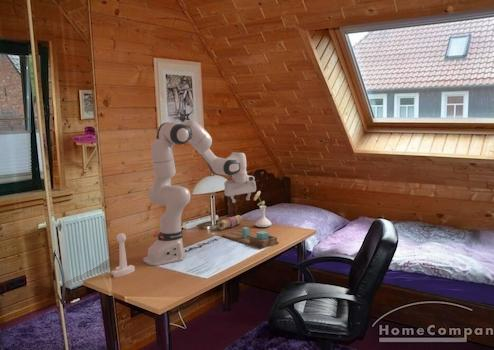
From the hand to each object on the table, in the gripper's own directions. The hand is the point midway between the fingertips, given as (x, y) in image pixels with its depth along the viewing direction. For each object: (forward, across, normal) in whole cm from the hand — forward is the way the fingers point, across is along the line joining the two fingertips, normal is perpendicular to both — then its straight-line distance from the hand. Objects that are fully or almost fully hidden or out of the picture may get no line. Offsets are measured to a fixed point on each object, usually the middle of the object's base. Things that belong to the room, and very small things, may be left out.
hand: (241, 201), depth 249 cm
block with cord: (+23, +3, -8) cm, 24 cm away
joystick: (+21, -76, -13) cm, 80 cm away
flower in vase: (+25, +26, +18) cm, 40 cm away
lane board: (+24, +2, -3) cm, 24 cm away
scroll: (+25, +8, +30) cm, 39 cm away
